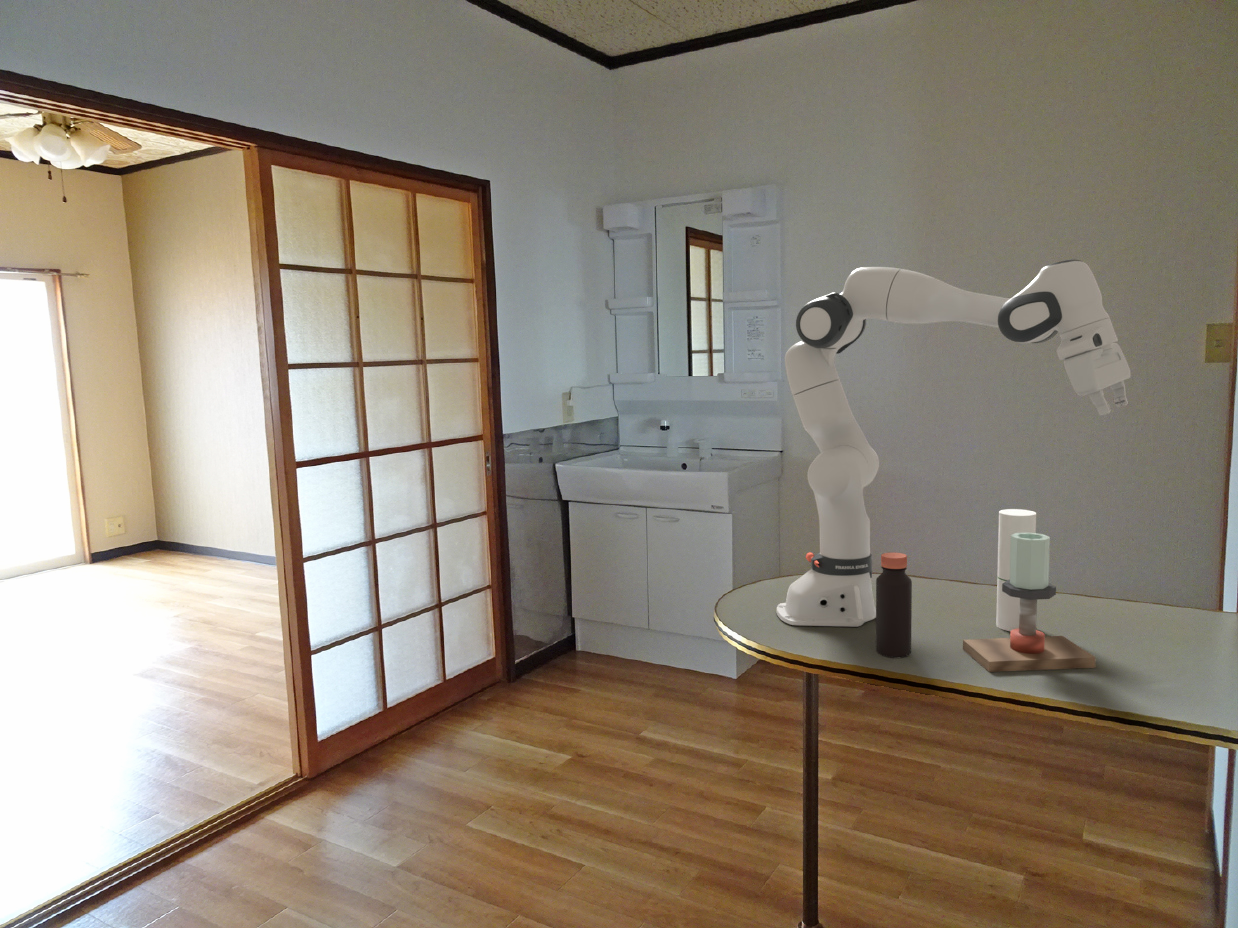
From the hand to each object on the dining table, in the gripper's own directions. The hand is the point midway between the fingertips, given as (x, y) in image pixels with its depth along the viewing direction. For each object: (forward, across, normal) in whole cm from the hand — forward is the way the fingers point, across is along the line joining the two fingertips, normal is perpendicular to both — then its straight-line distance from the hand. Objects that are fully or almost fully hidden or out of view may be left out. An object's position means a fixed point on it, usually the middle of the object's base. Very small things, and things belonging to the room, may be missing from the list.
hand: (1114, 410), depth 162 cm
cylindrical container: (+39, 0, -33) cm, 51 cm away
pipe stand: (+41, +16, -24) cm, 50 cm away
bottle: (+33, +30, -44) cm, 62 cm away
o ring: (+28, +15, -20) cm, 38 cm away
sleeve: (+27, +15, -19) cm, 37 cm away
